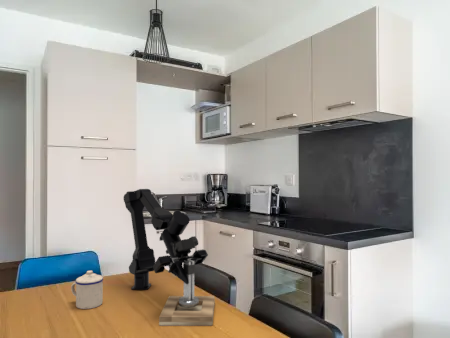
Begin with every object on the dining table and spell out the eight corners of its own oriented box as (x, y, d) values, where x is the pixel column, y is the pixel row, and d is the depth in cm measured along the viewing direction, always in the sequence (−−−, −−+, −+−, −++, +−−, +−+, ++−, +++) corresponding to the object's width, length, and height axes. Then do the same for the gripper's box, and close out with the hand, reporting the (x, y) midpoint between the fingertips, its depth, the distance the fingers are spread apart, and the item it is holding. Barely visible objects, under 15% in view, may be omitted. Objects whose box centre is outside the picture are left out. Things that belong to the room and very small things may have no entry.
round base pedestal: (175, 303, 112) (175, 260, 113) (191, 298, 116) (191, 257, 117) (186, 309, 107) (186, 264, 108) (202, 304, 112) (202, 261, 112)
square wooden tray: (169, 303, 121) (169, 295, 121) (214, 303, 121) (214, 296, 121) (159, 325, 103) (159, 317, 103) (212, 325, 103) (212, 317, 103)
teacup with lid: (108, 301, 123) (108, 268, 123) (91, 311, 114) (91, 275, 114) (80, 297, 126) (80, 266, 126) (62, 307, 117) (62, 272, 118)
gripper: (157, 231, 109) (175, 274, 101) (204, 226, 121) (224, 264, 113) (146, 252, 115) (162, 294, 107) (192, 245, 127) (210, 282, 119)
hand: (191, 282), depth 111 cm, fingers closed on round base pedestal, 2 cm apart
